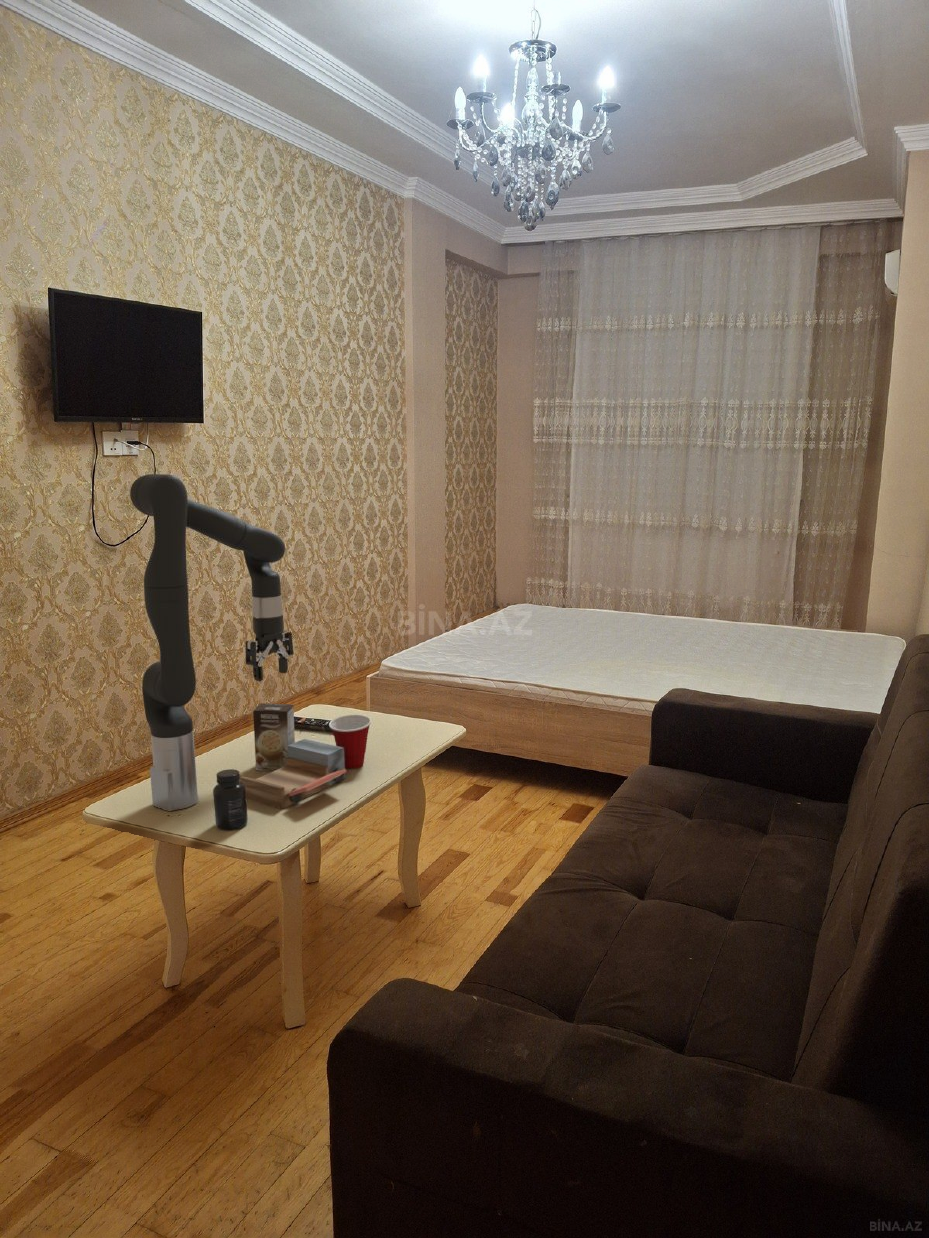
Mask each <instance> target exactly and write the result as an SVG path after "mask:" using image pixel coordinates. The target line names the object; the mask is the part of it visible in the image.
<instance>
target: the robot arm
mask: <svg viewBox="0 0 929 1238" xmlns="http://www.w3.org/2000/svg"><path fill="white" fill-rule="evenodd" d="M129 497H130V501H131V503H132V505H133V506H134V508H135V509H137V511H139V512H140V513H142V514H144V515H145V516H149V517H152V518H153V527H154V542H153V548H152V550H151V554H150V555H149V558H148V561H147V564H146V568H145V571H144V574H143V591H144V593H143V595H144V606H145V607H144V608H145V610H146V614H147V617H148V619H149V622H150V624H151V627H152V629H153V631H154V634H155V637H156V640H157V643H158V648H159V656H160V658H159V659H160V661H156V662H154V663H152V664H150V665H149V666H148V667H147V669H146V670H145V672H144V674H143V678H142V682H141V685H142V686H141V688H142V689H141V690H142V699H143V707H144V713H145V714H144V715H145V719H146V722H147V724H148V726H149V728H150V729H149V730H150V738H151V739H150V740H151V750H152V751H151V752H152V753H151V754H152V762H153V763H152V766H150V767H149V773H150V774H149V776H150V787H151V788H150V789H151V799H152V807H154V806H156V807H155V808H157V807H158V809H160V808H162V809H161V810H165V811H167V812H173V811H175V810H176V811H177V810H181V809H186V808H190V807H192V806H194V805H195V804H196V803H198V802H199V794H198V781H197V780H198V777H197V768H196V767H197V766H196V751H195V737H194V726H193V719H192V717H191V715H190V714H189V713H188V712H187V710H186V709H185V707H184V706H186V705H187V704H188V703H189V702H190V701H191V700H192V699H193V697H194V694H195V692H196V687H197V677H196V671H195V665H194V658H193V652H192V645H191V632H190V631H191V628H190V615H189V613H190V611H189V587H188V584H189V583H188V582H189V581H188V572H187V571H188V570H187V568H188V567H187V541H186V540H187V528H189V529H191V530H193V531H195V532H198V533H199V534H201V535H204V536H206V537H208V538H209V539H212V540H214V541H216V542H218V543H220V544H222V545H225V546H226V547H229V548H231V549H234V550H237V551H243V556H244V561H245V564H246V567H247V570H248V571H247V572H248V574H249V577H250V581H251V596H252V597H251V598H252V599H251V615H252V617H251V618H252V631H253V634H255V638H254V640H246V641H245V645H244V647H245V664H246V665H249V666H252V671H253V672H252V673H253V679H254V681H257V682H262V681H264V673H263V672H264V671H263V666H262V665H263V662H264V661H265V659H267V657H268V656H270V655H271V654H276V655H277V656H278V658H277V659H278V660H277V661H278V672H279V674H287V673H288V670H289V665H288V663H289V662H288V659H289V656H292V655H294V646H293V645H294V644H293V633H292V632H290V631H285V625H284V607H283V603H284V602H283V599H282V587H281V586H282V585H281V576H280V573H278V572H277V571H275V570H273V568H272V567H271V565H270V564H271V563H272V564H273V563H276V562H278V561H280V560H282V559H283V557H284V556H285V553H286V546H285V542H284V541H283V539H282V538H281V537H280V536H279V535H277V534H275V533H274V532H271V531H269V530H268V529H267V530H266V529H264V528H260V527H257V526H254V525H252V524H249V523H247V522H246V521H244V520H242V519H240V518H239V517H236V516H235V515H233V514H230V513H228V512H227V511H223V510H221V509H218V508H215V507H212V506H209V505H206V504H203V503H200V502H197V501H195V500H193V499H190V498H189V497H188V492H187V488H186V485H185V484H184V482H183V481H182V480H181V479H180V478H179V477H177V476H176V475H172V474H164V473H162V474H160V473H159V474H158V473H150V474H149V473H148V474H144V475H140V476H139V477H138V478H136V479H135V480H134V481H133V483H132V485H131V487H130V491H129Z"/></svg>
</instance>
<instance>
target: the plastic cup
mask: <svg viewBox="0 0 929 1238" xmlns="http://www.w3.org/2000/svg"><path fill="white" fill-rule="evenodd" d="M371 724H372V719H371V717H369V716H368V715H364V714H354V713H353V714H346V715H342V716H338V717H335V718H334V719H332V720H330V721H329V724H328V726H329V728H330V729H331V732H332V735H333V738H334V741H335V746H339V747H343V748H344V762H345V769H346V770H347V769H349V770H351V769H353V770H354V769H358V768H361V767H363V766H364V763H365V756H366V750H367V744H368V743H367V741H368V734H369V730H370V725H371Z"/></svg>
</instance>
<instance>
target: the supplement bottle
mask: <svg viewBox="0 0 929 1238" xmlns="http://www.w3.org/2000/svg"><path fill="white" fill-rule="evenodd" d="M212 790H213V791H212V797H213V807H214V821H215V826H216V828H217V829H218V830H221V831H226V832H227V831H236V830H239V829H242V828H244V827H245V826H247V824H248V806H247V799H246V790H245V786H244V784H243V783H242V782H241V776H240V771H239V770H238V769H233V768H232V769H229V768H228V769H223V770H220V771H218V772H216V785H215V786H214V787H213V789H212Z"/></svg>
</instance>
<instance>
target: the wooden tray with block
mask: <svg viewBox="0 0 929 1238" xmlns="http://www.w3.org/2000/svg"><path fill="white" fill-rule="evenodd" d="M343 769H346V768H345V762H344V748H343V747H339V746H336V745H333V744H329V743H324V742H320V741H315V740H311V739H308V738H303V739H301V740H298V741H295V743H293V744H291V745H288V757H287V758H286V766H285V767H282V768H280V769H278V770H275V771H270V772H268V773H267V774H264V775H262V776H260V777H257V778H252V777H248V776H246V775H245V776H244V775H243V776H240V782H242V783H243V784H244V786H245V790H246V800H248V801H252V802H255V803H259V804H263V805H267V806H270V807H273V808H277V809H281V810H284V809H285V808H288V807H289V806H292V805H293V804H297V803H299V802H300V801H302V800H305V799H306V798H308V797H310V796H312V795H314V794H316V793H318V792H320V791H322V790H324V789H326V788H328V787H330V786H333V785H335V784H336V783H340V782H342V781H343V780H345V779H346V772H345V773H343V774H341V775H340V776H338V777H336V778H334V779H332V780H330V781H328V782H326V783H323V784H321V785H319V786H317V787H315V788H313V789H311V790H309V791H305V792H302V793H298V794H295V795H292V796H289V792H292V791H294V790H296V789H298V788H300V787H302V786H304V785H306V784H309V783H311V782H313V781H315V780H317V779H319V778H321V777H323V776H326V775H328V774H331V773H334V772H337V771H340V770H343Z"/></svg>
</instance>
